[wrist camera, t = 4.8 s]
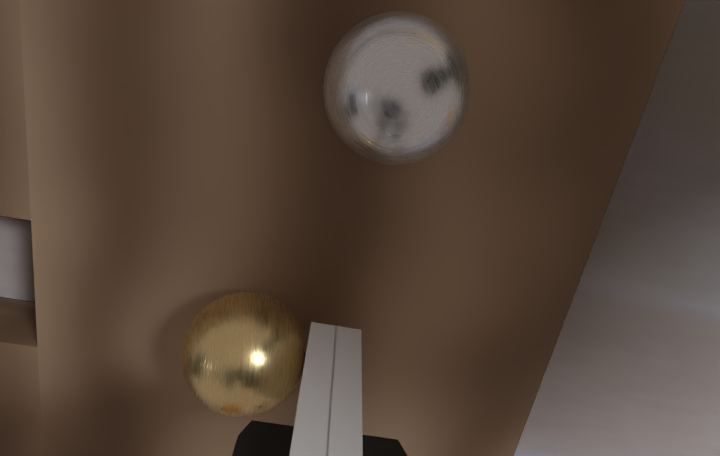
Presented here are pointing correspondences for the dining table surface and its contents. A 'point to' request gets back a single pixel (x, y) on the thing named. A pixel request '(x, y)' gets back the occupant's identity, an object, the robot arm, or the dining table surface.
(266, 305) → the brass ball
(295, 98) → the hole plate
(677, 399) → the dining table surface
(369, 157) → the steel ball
